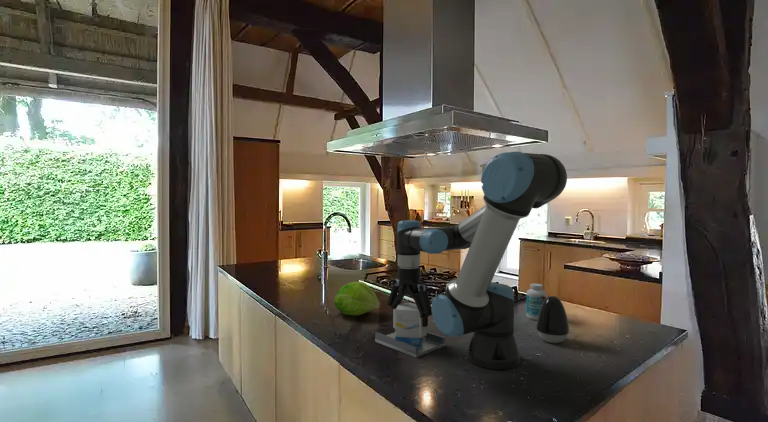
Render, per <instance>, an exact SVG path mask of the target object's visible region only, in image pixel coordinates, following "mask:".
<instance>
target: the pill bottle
mask: <svg viewBox="0 0 768 422" xmlns="http://www.w3.org/2000/svg"><path fill="white" fill-rule="evenodd" d="M529 286H530V288H529V289H528V290H526V305H525V308H526V309H525V311H526V312H525V314H526V317H527V319H530V320H535V321H537V319H538V314H539V311H540V308H541V306H542V303H543V302H544V300H543V299H542V298H541V296H542V295H543V296H544V297H546V298H547V292H546V291H545V290H543V287H544V285H543V284H541V283H535V282H534V283H530V284H529Z"/></svg>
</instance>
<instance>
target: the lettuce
mask: <svg viewBox="0 0 768 422" xmlns="http://www.w3.org/2000/svg"><path fill="white" fill-rule="evenodd" d="M333 304H334V307H335V308H336V310H338V311H339V312H340V313H341V314H343V315H348V316H356V317H357V316H358V317H359V316H361V315H363V314H366V313H369V312H371V311H374V310H377V309H379V308H380V306H381V303H380V301H379V299H378V297H377V295H376V293H375V292H374V290H372V288H371V287H370V285H369V284H367V283H366V282H363V281H353V282H348V283H346V284H344V285H342V286H341V287H340V289H339V290H337V293H336V294H335V297H334V303H333Z"/></svg>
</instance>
